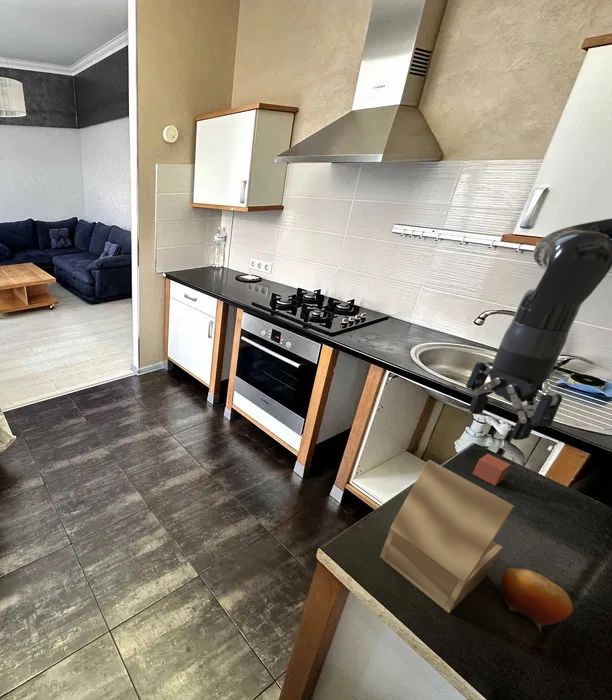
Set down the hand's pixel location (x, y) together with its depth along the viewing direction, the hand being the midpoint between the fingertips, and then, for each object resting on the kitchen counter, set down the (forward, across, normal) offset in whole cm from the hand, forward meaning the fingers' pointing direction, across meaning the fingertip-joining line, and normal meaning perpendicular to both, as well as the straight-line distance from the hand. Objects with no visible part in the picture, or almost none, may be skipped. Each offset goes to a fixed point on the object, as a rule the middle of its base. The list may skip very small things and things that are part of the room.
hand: (494, 424), depth 72 cm
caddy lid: (+8, -14, +19) cm, 25 cm away
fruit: (+22, -20, +6) cm, 31 cm away
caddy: (+22, -12, +16) cm, 30 cm away
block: (+22, +9, -16) cm, 29 cm away
